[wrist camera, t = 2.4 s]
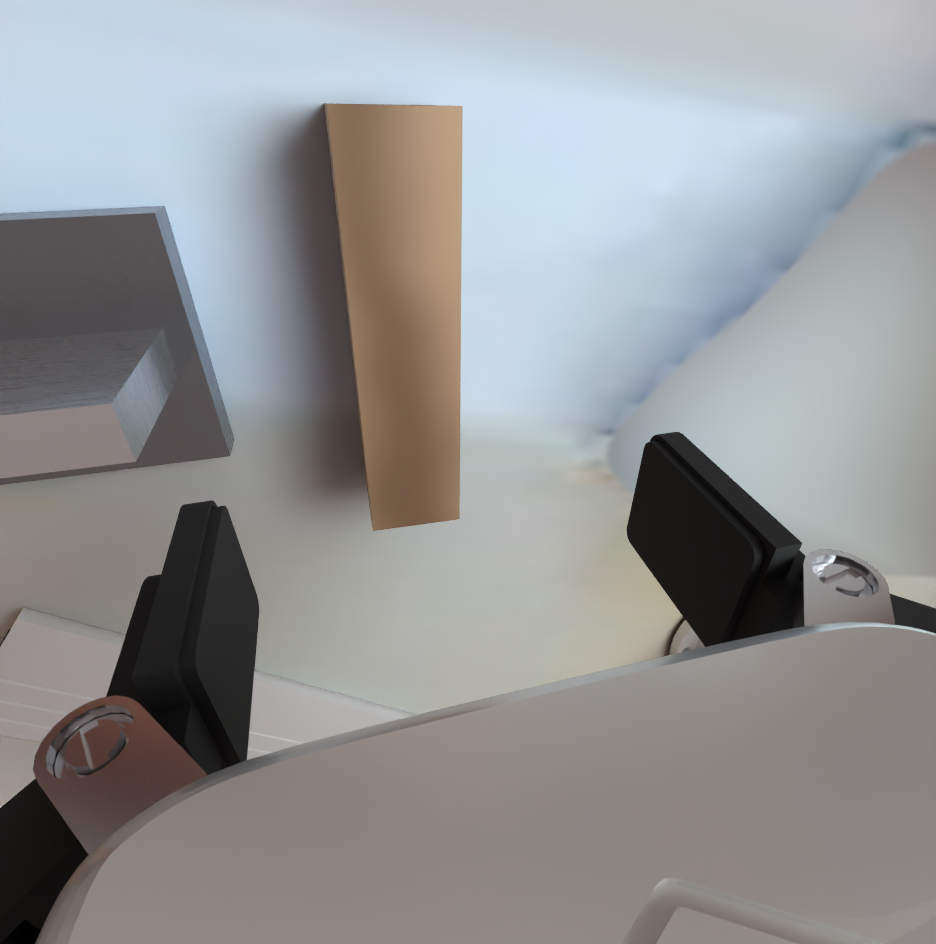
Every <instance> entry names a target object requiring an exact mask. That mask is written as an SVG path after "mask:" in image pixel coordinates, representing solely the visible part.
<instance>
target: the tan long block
mask: <svg viewBox="0 0 936 944" xmlns="http://www.w3.org/2000/svg"><path fill="white" fill-rule="evenodd" d="M324 107H325V116H326V125H327V134H328V143H329V152H330V161H331V170H332V179H333V188H334V197H335V206H336V215H337V224H338V233H339V242H340V251H341V260H342V269H343V278H344V287H345V296H346V305H347V314H348V323H349V332H350V341H351V350H352V359H353V368H354V377H355V386H356V395H357V404H358V413H359V422H360V431H361V440H362V449H363V458H364V467H365V476H366V483H367V490H368V497H369V505H370V512H371V519H372V526H373V531H376V530H383V529H390V528H398V527H405V526H412V525H420V524H427V523H434V522H442V521H449V520H456V519H459V499H460V360H461V221H462V106H435V105H377V104H324Z"/></svg>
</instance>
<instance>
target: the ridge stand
mask: <svg viewBox="0 0 936 944" xmlns="http://www.w3.org/2000/svg"><path fill="white" fill-rule="evenodd" d="M233 442H234V437H233V434H232V431H231V427H230V424H229V420H228V417H227V414H226V410H225V407H224V404H223V400H222V397H221V394H220V390H219V387H218V384H217V380H216V377H215V373H214V370H213V367H212V363H211V360H210V357H209V353H208V350H207V347H206V343H205V340H204V337H203V333H202V330H201V327H200V323H199V320H198V316H197V313H196V310H195V306H194V303H193V300H192V296H191V293H190V290H189V286H188V283H187V280H186V276H185V273H184V270H183V266H182V263H181V259H180V256H179V253H178V249H177V246H176V243H175V239H174V236H173V233H172V229H171V226H170V223H169V219H168V216H167V212H166V209H165V206H160V207H138V208H116V209H95V210H73V211H51V212H30V213H8V214H0V485H3V484H11V483H19V482H27V481H35V480H43V479H51V478H59V477H66V476H74V475H82V474H90V473H98V472H106V471H114V470H122V469H130V468H138V467H146V466H154V465H162V464H170V463H178V462H185V461H193V460H201V459H209V458H217V457H225V456H230V454H231V450H232V446H233Z"/></svg>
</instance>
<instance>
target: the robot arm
mask: <svg viewBox="0 0 936 944" xmlns="http://www.w3.org/2000/svg"><path fill="white" fill-rule="evenodd" d="M627 536H628V539H629V541H630V543H631V545H632V546H633V547H634V549H635V550H636V552H637V553H638V554H639V556H640V557H641V559H642V560H643V561H644V563H645V564H646V566H647V567H648V568H649V570H650V571H651V572H652V574H653V575H654V577H655V578H656V579H657V581H658V582H659V584H660V585H661V586H662V588H663V589H664V590H665V592H666V593H667V595H668V596H669V597H670V599H671V600H672V602H673V603H674V604H675V606H676V607H677V608H678V610H679V611H680V613H681V614H682V615H683V617H684V618H685V620H684V622H683V623H682V624H681V625H680V627H679V629H678V630H677V632H676V634H675V635H674V638H673V641H672V643H671V646H670V655H669V656H664V657H660V658H656V659H651V660H647V661H643V662H638V663H634V664H629V665H625V666H621V667H617V668H612V669H608V670H604V671H600V672H595V673H591V674H587V675H583V676H578V677H574V678H570V679H566V680H561V681H557V682H553V683H549V684H544V685H540V686H536V687H532V688H527V689H523V690H519V691H515V692H511V693H506V694H502V695H498V696H494V697H489V698H485V699H481V700H477V701H473V702H469V703H465V704H460V705H456V706H452V707H448V708H444V709H440V710H436V711H431V712H427V713H423V714H419V715H415V716H411V717H407V718H402V719H398V720H394V721H390V722H386V723H382V724H378V725H373V726H370V727H366V728H362V729H358V730H354V731H350V732H346V733H342V734H339V735H335V736H331V737H327V738H323V739H319V740H315V741H311V742H307V743H304V744H300V745H296V746H292V747H288V748H285V749H282V750H279V751H275V752H272V753H269V754H265V755H262V756H259V757H255V758H252V759H249V760H247V753H248V741H249V729H250V717H251V705H252V692H253V680H254V668H255V656H256V644H257V632H258V619H259V604H258V598H257V594H256V591H255V588H254V585H253V583H252V580H251V577H250V574H249V571H248V568H247V565H246V562H245V559H244V556H243V553H242V550H241V547H240V544H239V542H238V539H237V536H236V533H235V530H234V527H233V524H232V521H231V518H230V515H229V512H228V510H227V508H226V506H220V507H217V505H216V503H215V502H214V501H205V502H199V503H192V504H185V505H183V506H182V507H181V509H180V512H179V515H178V519H177V522H176V526H175V529H174V533H173V536H172V540H171V543H170V546H169V550H168V553H167V557H166V560H165V564H164V567H163V571H162V574H161V575H155V576H149V577H147V578H146V579H145V580H144V582H143V584H142V586H141V590H140V593H139V596H138V599H137V602H136V605H135V608H134V611H133V614H132V617H131V621H130V624H129V627H128V630H127V633H126V636H125V639H124V642H123V645H122V649H121V652H120V655H119V658H118V661H117V664H116V667H115V670H114V673H113V676H112V680H111V683H110V686H109V689H108V692H107V695H106V697H102V698H99V699H96V700H94V701H91V702H88V703H86V704H84V705H82V706H80V707H79V708H77V709H75V710H74V711H72V712H70V713H69V714H67V715H66V716H65V717H64V718H63V719H62V720H60V721H59V722H58V723H57V724H56V725H55V726H54V727H53V728H52V729H51V730H50V732H49V733H48V734H47V735H46V737H45V738H44V739H43V740H42V742H41V744H40V746H39V748H38V751H37V753H36V755H35V759H34V767H33V771H34V774H35V777H36V779H35V780H33V781H32V782H31V783H30V784H29V785H27V786H26V787H25V788H24V789H23V790H21V791H20V792H19V793H18V794H17V795H15V796H14V797H13V798H12V799H11V800H9V801H8V802H7V803H6V804H5V805H3V806H2V807H1V808H0V944H936V609H935V608H932V607H929V606H926V605H923V604H920V603H917V602H914V601H911V600H908V599H904V598H901V597H898V596H895V595H892V594H890V593H889V587H888V585H887V582H886V580H885V578H884V577H883V576H882V575H881V574H880V572H879V571H878V570H877V569H875V568H874V567H873V566H871V565H870V564H869V563H867V562H866V561H864V560H862V559H860V558H858V557H856V556H854V555H851V554H848V553H845V552H842V551H836V550H830V549H825V550H817V551H813V552H810V553H809V554H808V555H807V556H805V555H804V554H803V553H802V552H801V551H800V550H799V549H800V547H801V545H802V542H800V541H799V540H798V539H797V538H796V537H795V536H794V535H793V534H792V533H791V532H789V531H788V530H787V529H786V528H785V527H784V526H783V525H782V524H781V523H779V522H778V521H777V520H776V519H775V518H774V517H773V516H772V515H771V514H770V513H769V512H767V511H766V510H765V509H764V508H763V507H762V506H761V505H760V504H759V503H758V502H756V501H755V500H754V499H753V498H752V497H751V496H750V495H749V494H748V493H747V492H745V491H744V490H743V489H742V488H741V487H740V486H739V485H737V483H736V482H734V481H733V480H732V479H731V478H730V477H729V476H728V475H727V474H726V473H725V472H723V471H722V470H721V469H720V468H719V467H718V466H717V465H716V464H715V463H714V462H712V461H711V460H710V459H709V458H708V457H707V456H706V455H705V454H704V453H703V452H701V451H700V450H699V449H698V448H697V447H696V446H695V445H694V444H693V443H692V442H691V441H689V440H688V439H687V438H686V437H685V436H684V435H683V434H681V433H680V432H673V433H666V434H659V435H655V436H653V437H652V438H651V440H650V442H648V443H646V445H645V447H644V451H643V456H642V460H641V465H640V470H639V474H638V479H637V484H636V488H635V493H634V498H633V502H632V507H631V512H630V516H629V521H628V526H627Z"/></svg>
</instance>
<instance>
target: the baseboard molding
mask: <svg viewBox="0 0 936 944" xmlns="http://www.w3.org/2000/svg"><path fill="white" fill-rule="evenodd" d="M125 636H126V635H123V634H119V633H115V632H112V631H108V630H104V629H101V628H97V627H93V626H90V625H86V624H82V623H79V622H75V621H71V620H68V619H64V618H60V617H57V616H53V615H49V614H45V613H42V612H38V611H34V610H31V609H27V608H23V609H22V610H21V612H20V614H19V615H18V617H17V618H16V620H15V622H14V623H13V625H12V627H11V628H10V629H9V631H8V633H7V634H6V636H5V638H4V639H3V641H2V643H1V644H0V736H6V737H12V738H18V739H24V740H30V741H36V742H42V740H43V739H44V738H45V737H46V735H47V734H48V733H49V732H50V730H51V729H52V728H53V727H54V726H55V725H56V724H57V723H58V722H59V721H60V720H62V719H63V718H64V717H65V716H66V715H67V714H69V713H70V712H72V711H74V710H75V709H77V708H79V707H80V706H82V705H84V704H86V703H88V702H91V701H94V700H96V699H99V698H102V697H106V695H107V692H108V689H109V686H110V683H111V680H112V676H113V673H114V670H115V667H116V664H117V661H118V658H119V655H120V652H121V649H122V645H123V642H124V639H125ZM415 715H417V714H413V713H409V712H406V711H402V710H398V709H394V708H391V707H387V706H383V705H380V704H376V703H372V702H369V701H365V700H361V699H358V698H354V697H350V696H347V695H343V694H339V693H336V692H332V691H328V690H325V689H321V688H317V687H314V686H310V685H306V684H303V683H299V682H295V681H292V680H288V679H284V678H281V677H277V676H273V675H270V674H266V673H262V672H259V671H255V670H254V680H253V692H252V705H251V717H250V729H249V741H248V753H247V760H249V759H252V758H255V757H259V756H262V755H265V754H269V753H272V752H275V751H279V750H282V749H285V748H288V747H292V746H296V745H300V744H304V743H307V742H311V741H315V740H319V739H323V738H327V737H331V736H335V735H339V734H342V733H346V732H350V731H354V730H358V729H362V728H366V727H370V726H373V725H378V724H382V723H386V722H390V721H394V720H398V719H402V718H407V717H411V716H415Z"/></svg>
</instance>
